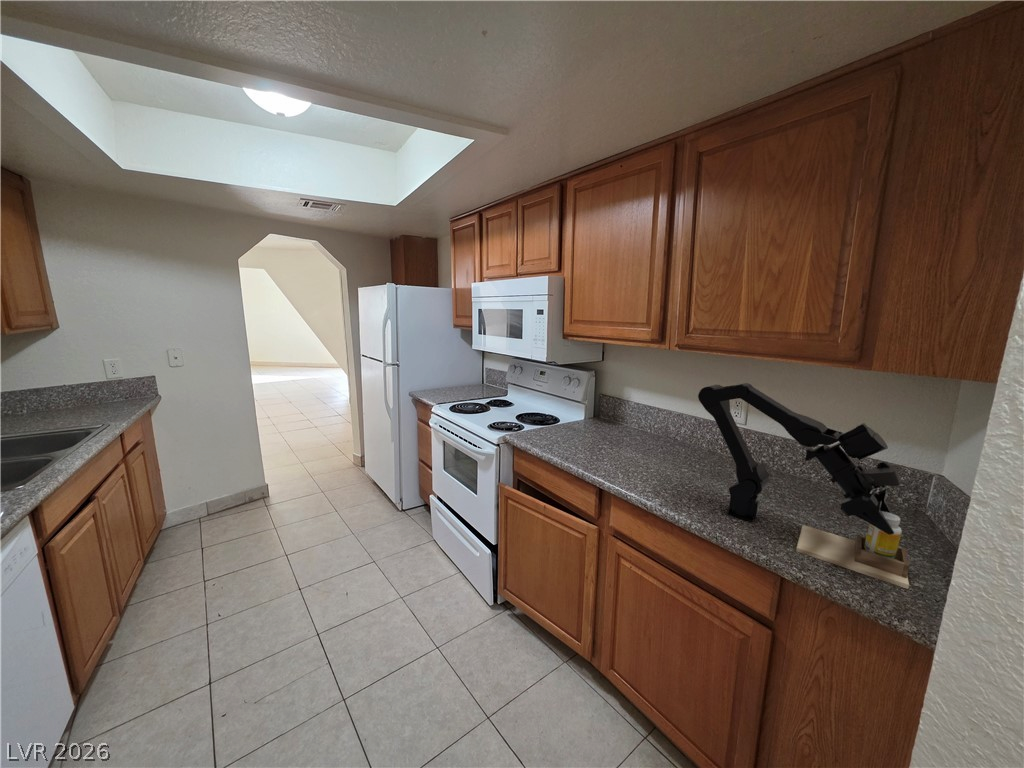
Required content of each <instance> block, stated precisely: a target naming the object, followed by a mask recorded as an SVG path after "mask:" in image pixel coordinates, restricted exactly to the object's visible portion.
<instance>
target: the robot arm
mask: <svg viewBox="0 0 1024 768" xmlns="http://www.w3.org/2000/svg"><path fill="white" fill-rule="evenodd" d="M697 398H698V401H699V402H700V404H701V405H702V407H703V408H704V409H705V411H706V412H707V413H708V414H709V415H710V416H711V417H712V418H713V420H714V421H715V423H716V425H717V427H718V429H719V431H720V434H721V436H722V438H723V440H724V443H725V444H726V446H727V449H728V450H729V451H728V452H729V453H730V455H731V457H732V460H733V462H734V464H735V472H736V473H735V475H736V478H737V481H736V482H735V483H734V484H733V485H731V486H730V487H729V488H728V492H729V495H730V499H729V506H728V509H727V511H726V514H727V515H729V516H732V517H735V518H739V519H742V520H745V521H748V522H754V519H756V518H757V516H758V515H759V514H758V513H759V507H760V501H758V499H759V496H758V495H760V494H761V493H762V492H763V491H764V490H766V488H768V487H769V485H770V477H771V474H770V473H769V472H768V470H767V467H766V465H765V462H764V461H763V462H759V463H758V462H757V460H755V459H754V457H753V456H752V455H751V452H750V450H749V448H748V446H747V444H746V442H745V439H744V438H743V436H742V433H741V432H740V430H739V427H738V424H737V423H736V421H735V418H734V417H733V415H732V411H731V401H730V400H732V401H733V400H737V399H740V400H742V401H744V402H746V404H748V405H750V406H752V407H753V408H754V409H755V410H758V411H759V412H761V413H763V414H764V415H765V416H766V417H768V418H770V419H772V421H775V422H776V423H778V424H779V425H780V426H781V427H783V428H784V430H785V431H786V432H787V433H788V434H789V436H791V438H792V439H794V440H795V441H796V442H797V443H799V445H801V446H804V447H806V448H807V449H806V450H805V451H806V453H805V454H806V455H805V457H804V460H805V461H810V460H812V459H814V458H815V459H816V461H818V463H819V464H820V465H821V466H822V467H823V470H825V471H826V472H827V473H828V475H829V476H830V478H829V480H830V482H831V483H836V484H837V486H838V487H839V488H840V489H841V491H842V492H843V494H842V496H843V497H844V499H843V500H842V502H841V503H840V511H842V513H843V514H844V515H845V516H846V517H852V516H855V517H857V518H858V519H861V520H862V521H864V522H866V523H868V524H871V525H873V526H875V527H877V528H878V529H880V530H882V531H883V532H885V533H887V534H888V535H891V534H894V531H893V529H892V528H891V526H890V525H889V523H888V521H887V520H886V518H885V517H884V515H883V514H882V512H881V511H884V512H888V513H892V511H891V509H890V507H889V505H888V503H887V501H886V496H887V493H888V489H886V488H887V486H890V487H899V486H900V485H901V482H902V481H903V480H902V479H901V476H900V474H899V472H900V470H899V469H898V467H896V466H895V465H894V466H892V465H891V464H890V463H889V462H888V461H878V462H877V464H876V465H877V466H876V468H875V467H872V468H869V469H865V468H864V466H862V465H861V464H856V463H855V462H854V461H853V460H852V459H857V460H863V459H864V460H865V458H868V457H871V456H873V455H876V454H878V453H881V452H883V451H885V450H887V449H889V447H888V444H887V443H886V441H885V440H884V438H883V437H881V435H880V434H879V433H878V432H876V431H875V430H873V429H872V428H871V427H869V426H868V425H867V424H866V423H865V422H863V423H860V424H858V425H857V426H856V427H854V428H852V429H850V430H848V431H846V432H842V431H839V430H836V429H833V428H829V427H827V426H826V425H825V424H824V423H823V422H821V421H819V420H816V419H814V418H811V417H809V416H806V415H803V414H800V413H797V412H796V411H793V410H791V409H790V408H788V407H786V406H785V405H783V404H781V403H780V402H778V401H777V400H775V399H774V398H772V397H770V396H768V395H767V394H765V393H764V392H762V391H760V390H759V389H757V388H756V387H754V386H753V385H752V384H751V383H748V382H743V383H739V384H733V385H726V386H724V385H720V384H713V385H707V386H705V387H703V388H701V389H700V390H699V392H698V394H697ZM835 443H836V444H835ZM819 445H820V446H819ZM817 446H818V447H817ZM814 447H816V448H814ZM879 488H883V489H882V490H879ZM884 488H885V489H884Z"/></svg>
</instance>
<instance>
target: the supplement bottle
mask: <svg viewBox="0 0 1024 768" xmlns="http://www.w3.org/2000/svg"><path fill="white" fill-rule="evenodd" d="M881 512H882V514H883V515H884V517H885V518H886V520H887V521H888V523H889V525H890V526H891V528H892V529H893V531H894V534H891V535H888V534H887V533H885V532H883V531H882V530H880V529H878V528H877V527H875V526H873V525H871V524H870V523H868V524H869V525H868V529H867V533H866V536H865V537H866V540H865V545H864V548H865V550H866V551H868V552H871V553H875V554H878V555H881V556H884V557H888V558H891V559H894V558H895V556H896V552H897V548H898V546H899V544H900V540H901V536H902V532H903V531H902V528H901V527H900V526H899V525H901V517H900V516H898V515H896V514H895V513H892V512H891V513H888V512H884V511H881Z"/></svg>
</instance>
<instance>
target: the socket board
mask: <svg viewBox="0 0 1024 768" xmlns="http://www.w3.org/2000/svg"><path fill="white" fill-rule="evenodd" d="M866 537H867V536H864V535H861V534H856V538H855V539H851V538H847V537H845V536H841V535H839V534H838V535H837V534H835V533H831V532H828V531H824V530H821V529H817V528H814V527H811V526H807V525H804V524H802V527H801V530H800V534H799V538H798V542H797V545H796V546H797V547H796V550H795V551H796V552H798V553H800V554H804V555H806V556H810V557H813V558H815V559H817V560H821V561H823V562H827V563H830V564H834V565H836V566H839V567H840V568H841V567H842V568H845V569H848V570H850V571H853V572H857V573H860V574H863V575H865V576H868V577H870V578H874V579H877V580H880V581H883V582H886V583H888V584H892V585H894V586H897V587H901V588H904V589H907V590H909V587H910V583H909V577H908V573H909V569H910V562H909V557H908V552H907V548H906V547H902V546H899V545H898V548H897V552H896V556H895V558H894V559H891V558H888V557H884V556H881V555H878V554H875V553H871V552H868V551H866V550H865V548H864V545H865V540H866Z"/></svg>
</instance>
